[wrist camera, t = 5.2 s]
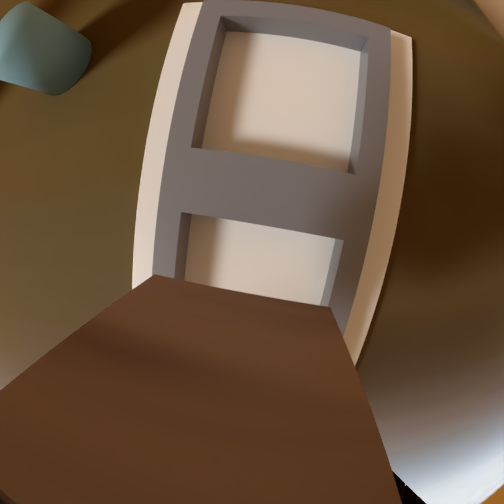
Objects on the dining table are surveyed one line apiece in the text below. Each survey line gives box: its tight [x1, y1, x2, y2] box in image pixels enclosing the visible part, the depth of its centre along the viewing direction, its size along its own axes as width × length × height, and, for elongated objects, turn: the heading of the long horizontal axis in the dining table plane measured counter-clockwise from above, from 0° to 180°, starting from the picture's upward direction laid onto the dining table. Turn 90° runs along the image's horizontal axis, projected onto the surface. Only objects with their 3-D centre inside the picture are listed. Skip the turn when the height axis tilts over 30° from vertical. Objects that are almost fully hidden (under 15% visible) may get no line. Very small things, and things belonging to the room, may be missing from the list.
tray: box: [132, 0, 412, 366], centre depth 14 cm, size 23×14×2 cm, turn 171°
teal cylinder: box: [0, 2, 92, 96], centre depth 10 cm, size 5×5×7 cm
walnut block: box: [0, 274, 402, 504], centre depth 5 cm, size 5×5×7 cm
